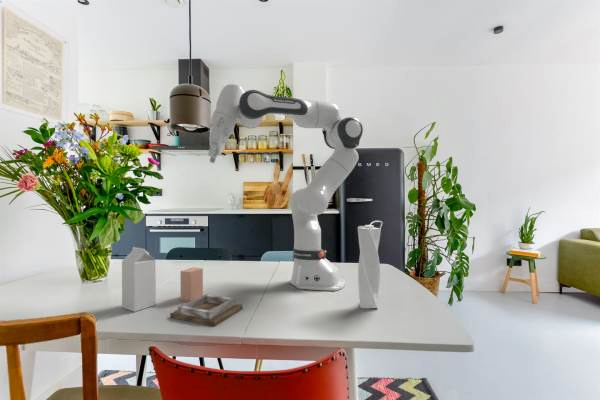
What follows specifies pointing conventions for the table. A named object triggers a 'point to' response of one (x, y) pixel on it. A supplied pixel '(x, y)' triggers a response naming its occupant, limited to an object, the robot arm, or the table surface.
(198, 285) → the terracotta post
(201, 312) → the walnut board
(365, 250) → the skyscraper
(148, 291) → the milk carton
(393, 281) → the table surface
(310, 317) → the table surface
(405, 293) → the table surface
